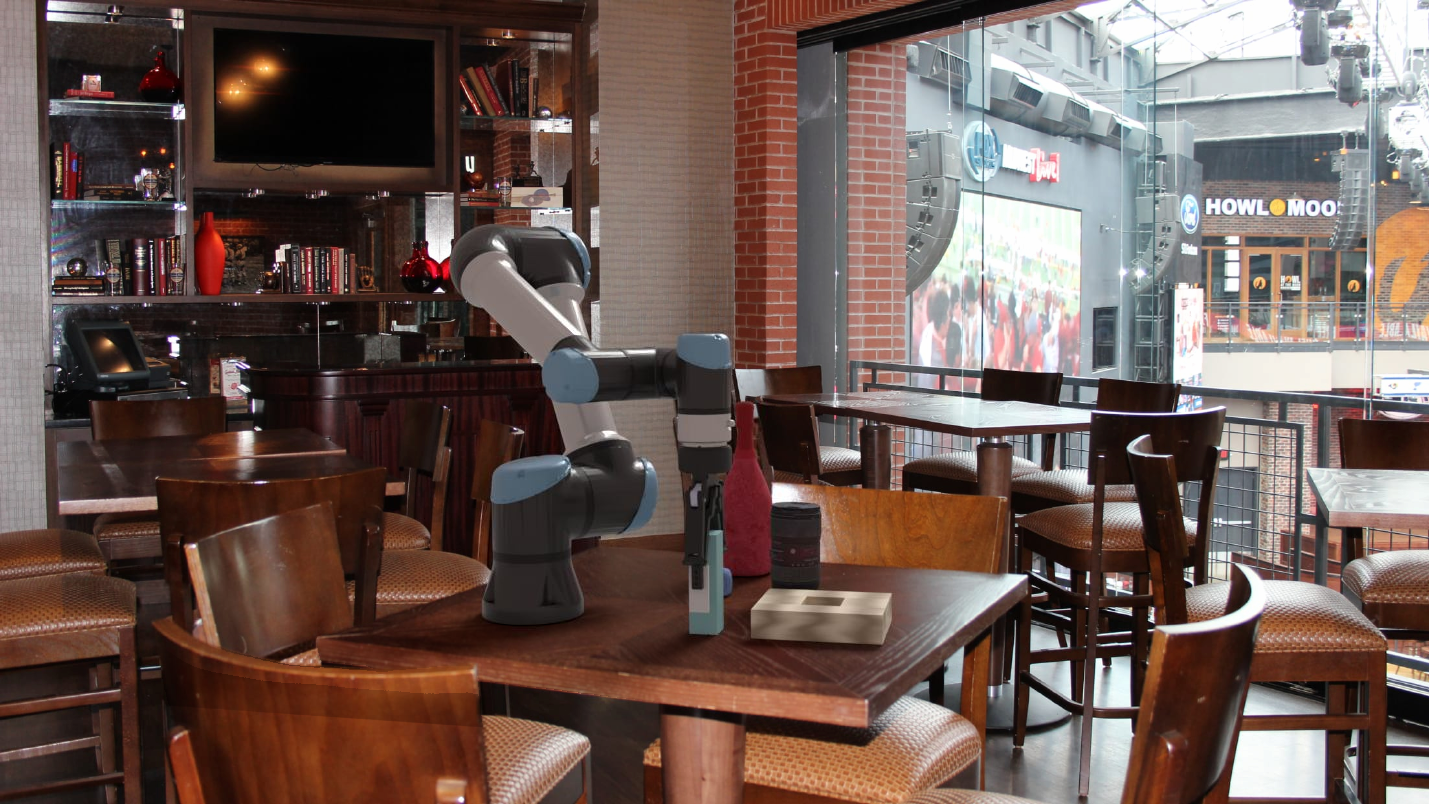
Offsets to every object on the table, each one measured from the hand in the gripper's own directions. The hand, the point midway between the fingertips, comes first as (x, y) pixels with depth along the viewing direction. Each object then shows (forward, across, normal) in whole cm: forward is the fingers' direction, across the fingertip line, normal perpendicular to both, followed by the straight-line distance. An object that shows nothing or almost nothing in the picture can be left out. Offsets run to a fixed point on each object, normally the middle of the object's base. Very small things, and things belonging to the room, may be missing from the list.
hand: (706, 605), depth 173 cm
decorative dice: (+4, +24, +4) cm, 25 cm away
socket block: (+4, +4, -16) cm, 17 cm away
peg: (+4, 0, 0) cm, 4 cm away
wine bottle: (+4, +42, +3) cm, 42 cm away
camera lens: (+4, +23, -9) cm, 25 cm away
